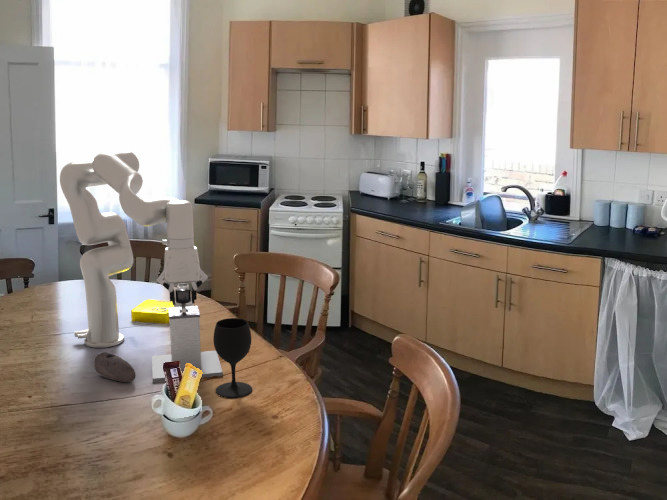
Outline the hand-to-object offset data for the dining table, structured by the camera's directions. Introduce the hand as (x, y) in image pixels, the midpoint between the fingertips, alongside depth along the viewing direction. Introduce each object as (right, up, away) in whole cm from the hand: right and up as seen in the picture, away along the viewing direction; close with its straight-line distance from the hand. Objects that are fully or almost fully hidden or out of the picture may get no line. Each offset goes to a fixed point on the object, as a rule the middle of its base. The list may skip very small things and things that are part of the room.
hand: (183, 302), depth 218 cm
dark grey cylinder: (0, -15, +4) cm, 16 cm away
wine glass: (+17, -24, -11) cm, 31 cm away
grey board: (0, -20, +5) cm, 21 cm away
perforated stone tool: (-18, -22, -4) cm, 29 cm away
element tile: (-20, -9, +52) cm, 56 cm away
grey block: (0, -19, +6) cm, 20 cm away
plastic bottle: (-4, -16, +25) cm, 30 cm away
